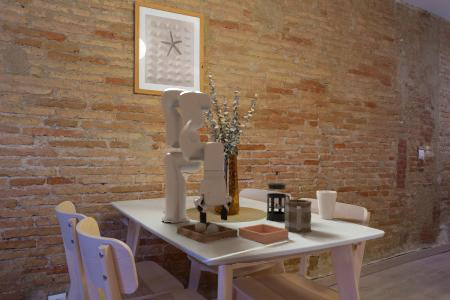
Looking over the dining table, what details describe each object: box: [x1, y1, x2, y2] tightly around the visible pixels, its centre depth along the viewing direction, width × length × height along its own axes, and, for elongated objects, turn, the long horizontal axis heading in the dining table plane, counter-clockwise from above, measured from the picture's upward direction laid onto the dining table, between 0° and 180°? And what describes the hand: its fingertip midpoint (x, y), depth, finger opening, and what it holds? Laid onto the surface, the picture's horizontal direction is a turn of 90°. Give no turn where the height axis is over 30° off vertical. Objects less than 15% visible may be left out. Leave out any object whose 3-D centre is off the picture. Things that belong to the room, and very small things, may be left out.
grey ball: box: [207, 224, 219, 234], centre depth 127 cm, size 4×4×4 cm
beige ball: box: [194, 221, 206, 233], centre depth 131 cm, size 4×4×4 cm
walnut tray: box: [176, 221, 239, 244], centre depth 129 cm, size 18×16×3 cm
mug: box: [284, 198, 312, 234], centre depth 138 cm, size 16×11×12 cm
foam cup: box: [316, 190, 338, 221], centre depth 166 cm, size 10×9×13 cm
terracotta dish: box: [238, 223, 289, 245], centre depth 127 cm, size 13×13×4 cm
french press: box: [266, 170, 291, 223], centre depth 161 cm, size 12×9×23 cm
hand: (213, 221), depth 126 cm, fingers open, 9 cm apart
